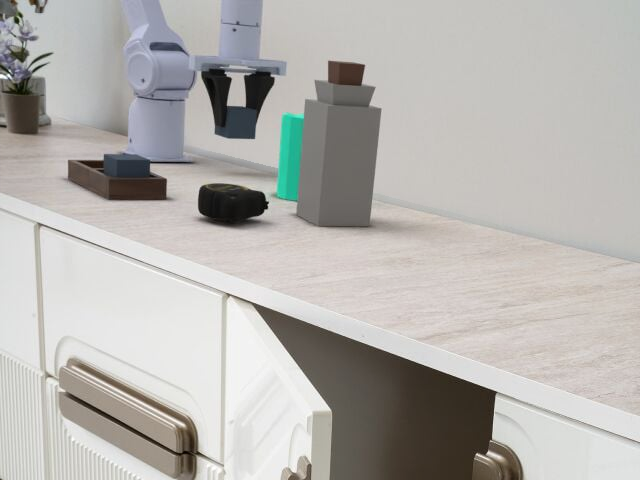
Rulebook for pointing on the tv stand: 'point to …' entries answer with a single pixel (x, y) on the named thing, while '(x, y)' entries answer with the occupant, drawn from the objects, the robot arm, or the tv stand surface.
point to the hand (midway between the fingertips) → (235, 126)
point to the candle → (290, 156)
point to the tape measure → (230, 202)
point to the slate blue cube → (238, 123)
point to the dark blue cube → (126, 166)
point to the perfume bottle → (339, 149)
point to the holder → (115, 182)
